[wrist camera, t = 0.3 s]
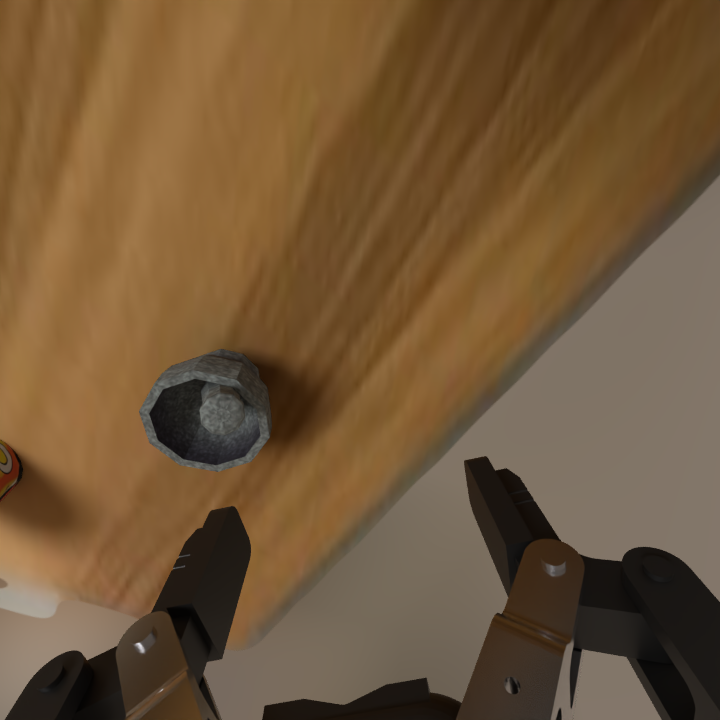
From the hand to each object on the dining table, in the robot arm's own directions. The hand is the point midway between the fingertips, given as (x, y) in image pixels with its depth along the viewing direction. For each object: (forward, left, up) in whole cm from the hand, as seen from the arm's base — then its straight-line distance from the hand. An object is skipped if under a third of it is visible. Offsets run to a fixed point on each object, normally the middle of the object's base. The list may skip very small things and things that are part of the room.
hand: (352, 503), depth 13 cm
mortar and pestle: (+10, -8, -23) cm, 26 cm away
